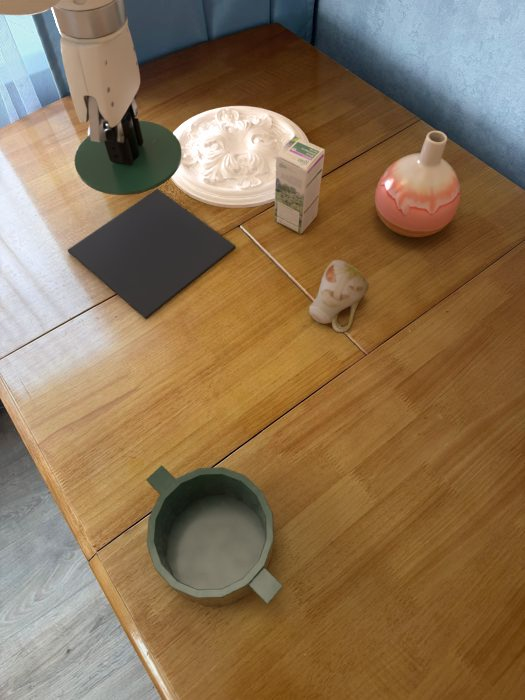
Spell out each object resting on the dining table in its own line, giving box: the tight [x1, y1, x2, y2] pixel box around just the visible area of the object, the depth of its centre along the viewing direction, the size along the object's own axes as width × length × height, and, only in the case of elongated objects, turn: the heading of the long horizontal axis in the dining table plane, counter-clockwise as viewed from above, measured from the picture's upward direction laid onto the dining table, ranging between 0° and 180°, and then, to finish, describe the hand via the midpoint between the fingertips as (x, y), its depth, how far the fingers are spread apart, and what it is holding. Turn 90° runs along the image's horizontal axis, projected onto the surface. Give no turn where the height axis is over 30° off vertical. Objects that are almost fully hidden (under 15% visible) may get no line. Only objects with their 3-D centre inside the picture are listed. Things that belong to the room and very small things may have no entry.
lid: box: [74, 112, 182, 196], centre depth 71 cm, size 15×15×7 cm
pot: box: [145, 465, 284, 607], centre depth 61 cm, size 14×19×10 cm
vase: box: [374, 130, 462, 238], centre depth 85 cm, size 14×14×18 cm
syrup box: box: [274, 136, 326, 235], centre depth 87 cm, size 6×6×14 cm
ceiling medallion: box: [170, 105, 310, 209], centre depth 100 cm, size 28×28×3 cm
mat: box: [67, 188, 237, 320], centre depth 89 cm, size 20×20×1 cm
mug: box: [308, 259, 370, 333], centre depth 81 cm, size 8×10×10 cm
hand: (127, 151), depth 72 cm, fingers closed on lid, 3 cm apart
